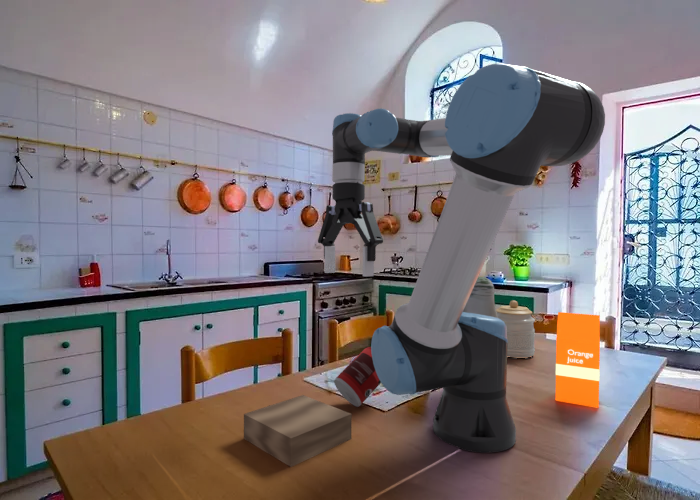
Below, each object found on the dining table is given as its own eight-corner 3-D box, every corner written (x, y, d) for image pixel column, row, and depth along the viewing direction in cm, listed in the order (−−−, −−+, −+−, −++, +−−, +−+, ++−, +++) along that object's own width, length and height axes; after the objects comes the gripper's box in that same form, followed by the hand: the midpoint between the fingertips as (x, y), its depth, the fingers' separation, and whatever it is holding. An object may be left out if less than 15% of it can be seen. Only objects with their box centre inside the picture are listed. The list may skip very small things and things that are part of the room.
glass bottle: (474, 400, 98) (475, 279, 98) (447, 387, 108) (448, 276, 107) (507, 394, 102) (508, 278, 102) (478, 382, 112) (479, 275, 111)
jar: (489, 348, 148) (489, 297, 147) (528, 350, 146) (529, 298, 146) (496, 358, 135) (497, 302, 134) (539, 360, 133) (540, 303, 133)
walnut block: (351, 440, 79) (351, 413, 79) (291, 469, 69) (291, 438, 69) (302, 418, 89) (303, 394, 89) (243, 441, 79) (243, 413, 79)
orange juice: (557, 390, 106) (558, 309, 105) (599, 397, 101) (600, 313, 101) (555, 400, 99) (556, 314, 98) (599, 408, 94) (600, 318, 94)
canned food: (378, 369, 103) (347, 403, 98) (361, 343, 101) (328, 376, 96) (397, 374, 96) (365, 410, 91) (379, 347, 94) (345, 382, 89)
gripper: (399, 179, 93) (398, 277, 93) (327, 189, 112) (327, 270, 112) (374, 175, 88) (374, 278, 88) (304, 186, 107) (303, 272, 107)
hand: (348, 274), depth 100 cm, fingers open, 13 cm apart
